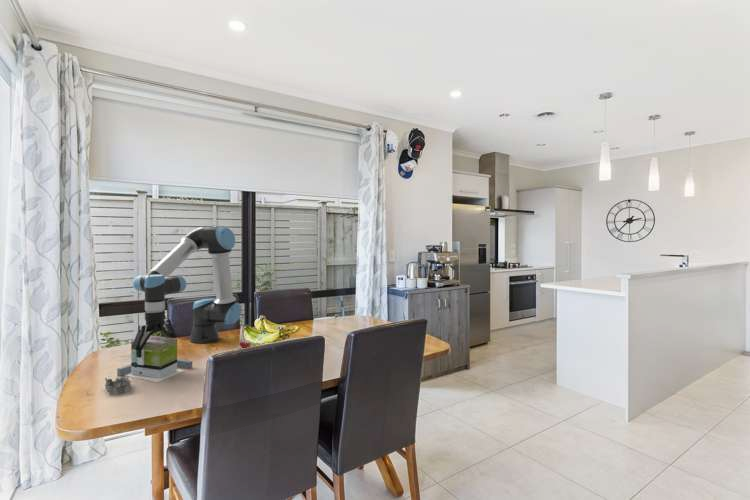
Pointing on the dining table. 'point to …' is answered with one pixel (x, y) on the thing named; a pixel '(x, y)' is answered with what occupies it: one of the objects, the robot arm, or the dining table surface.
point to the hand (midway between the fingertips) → (155, 359)
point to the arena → (127, 372)
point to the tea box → (156, 357)
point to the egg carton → (118, 385)
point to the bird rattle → (244, 345)
